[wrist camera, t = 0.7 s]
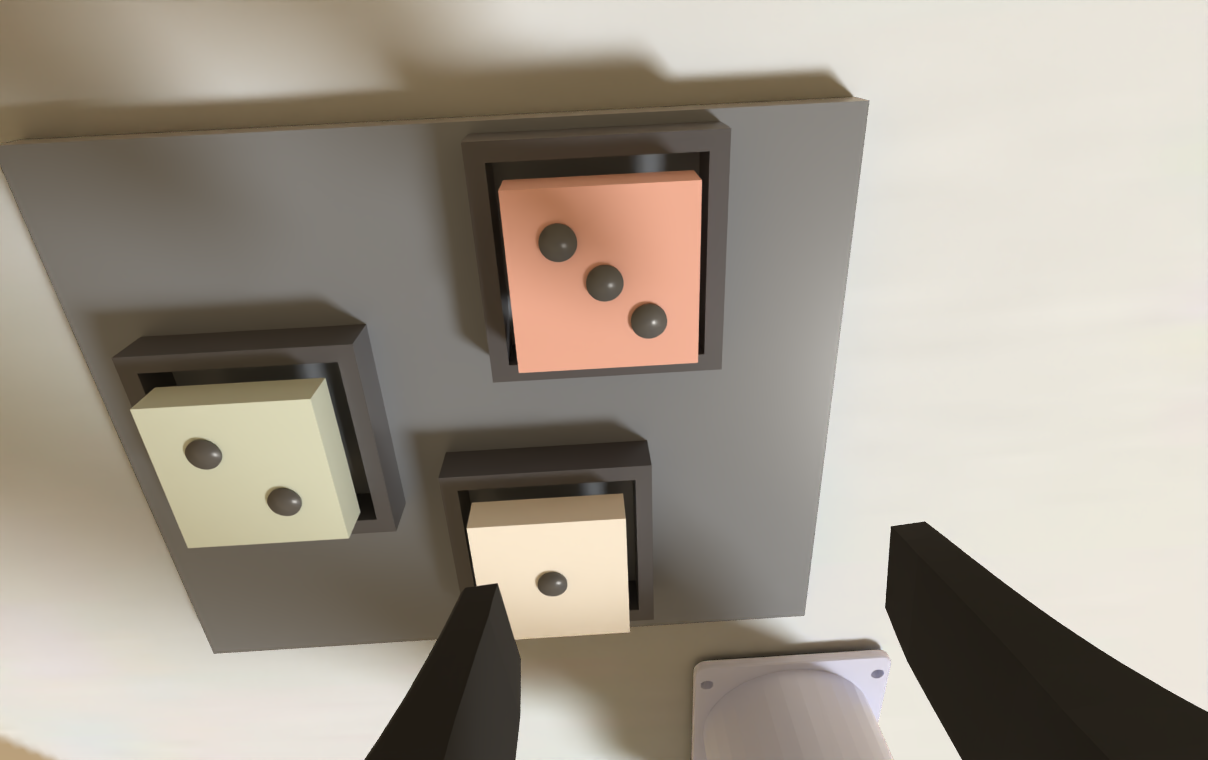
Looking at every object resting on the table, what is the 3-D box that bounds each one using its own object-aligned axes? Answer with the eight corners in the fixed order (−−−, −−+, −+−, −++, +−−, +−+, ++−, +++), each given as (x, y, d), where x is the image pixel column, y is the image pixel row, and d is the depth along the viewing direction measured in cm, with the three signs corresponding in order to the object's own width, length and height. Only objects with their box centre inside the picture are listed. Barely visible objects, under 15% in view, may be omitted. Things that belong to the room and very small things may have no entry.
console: (796, 595, 27) (816, 645, 24) (225, 632, 26) (195, 685, 24) (854, 96, 18) (892, 106, 16) (20, 139, 18) (-55, 155, 16)
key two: (360, 512, 21) (347, 540, 20) (207, 521, 21) (186, 550, 20) (325, 377, 19) (309, 401, 18) (155, 387, 19) (127, 411, 17)
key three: (690, 343, 19) (698, 364, 18) (521, 353, 19) (518, 374, 17) (693, 170, 17) (702, 180, 15) (502, 179, 16) (497, 191, 15)
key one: (627, 604, 23) (630, 635, 22) (490, 612, 23) (485, 643, 22) (623, 493, 21) (625, 520, 20) (472, 502, 21) (466, 530, 20)
